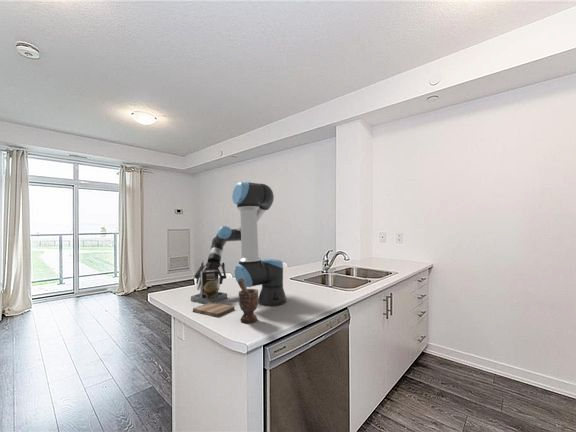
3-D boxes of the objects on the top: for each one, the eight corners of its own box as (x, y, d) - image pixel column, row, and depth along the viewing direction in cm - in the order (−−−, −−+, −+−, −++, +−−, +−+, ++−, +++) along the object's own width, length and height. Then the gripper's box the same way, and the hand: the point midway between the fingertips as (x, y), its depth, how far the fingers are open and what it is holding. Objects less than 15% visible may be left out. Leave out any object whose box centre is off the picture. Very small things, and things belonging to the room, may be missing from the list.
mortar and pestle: (256, 327, 113) (256, 279, 113) (235, 327, 113) (235, 279, 113) (259, 317, 124) (259, 273, 124) (240, 317, 124) (240, 273, 124)
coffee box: (202, 301, 148) (202, 272, 148) (200, 298, 153) (200, 270, 153) (218, 299, 152) (218, 270, 152) (216, 296, 157) (216, 269, 158)
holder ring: (227, 297, 155) (227, 293, 155) (209, 304, 143) (209, 299, 143) (209, 294, 162) (209, 290, 162) (190, 300, 150) (190, 296, 150)
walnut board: (234, 309, 135) (234, 306, 135) (217, 317, 124) (217, 313, 124) (210, 304, 142) (210, 301, 143) (192, 311, 132) (192, 308, 132)
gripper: (234, 260, 168) (229, 292, 153) (197, 260, 168) (188, 292, 152) (232, 252, 163) (227, 285, 147) (194, 253, 163) (185, 285, 147)
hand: (207, 288), depth 150 cm, fingers closed on coffee box, 10 cm apart
